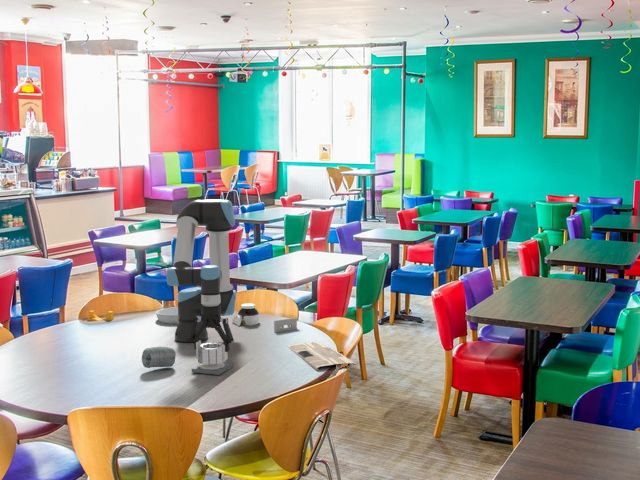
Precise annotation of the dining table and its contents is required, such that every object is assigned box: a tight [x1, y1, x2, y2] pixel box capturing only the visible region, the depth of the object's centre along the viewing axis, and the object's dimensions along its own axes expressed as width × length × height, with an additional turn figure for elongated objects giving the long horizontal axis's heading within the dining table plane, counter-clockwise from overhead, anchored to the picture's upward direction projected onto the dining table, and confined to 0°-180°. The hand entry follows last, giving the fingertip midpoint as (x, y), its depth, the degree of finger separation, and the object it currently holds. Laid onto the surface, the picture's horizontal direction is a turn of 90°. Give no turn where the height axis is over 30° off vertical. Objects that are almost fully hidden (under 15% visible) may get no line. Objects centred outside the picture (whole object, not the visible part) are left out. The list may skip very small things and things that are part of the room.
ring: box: [197, 342, 227, 365], centre depth 305 cm, size 11×11×6 cm
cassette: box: [273, 317, 298, 333], centre depth 363 cm, size 12×2×8 cm, turn 122°
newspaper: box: [287, 341, 358, 371], centre depth 323 cm, size 37×19×3 cm, turn 21°
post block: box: [191, 362, 233, 376], centre depth 305 cm, size 12×12×8 cm
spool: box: [141, 346, 176, 369], centre depth 306 cm, size 14×10×10 cm
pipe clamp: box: [87, 310, 115, 322], centre depth 388 cm, size 12×4×6 cm, turn 80°
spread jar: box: [231, 302, 260, 327], centre depth 377 cm, size 12×11×12 cm
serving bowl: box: [155, 306, 178, 325], centre depth 387 cm, size 21×21×7 cm
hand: (211, 358), depth 305 cm, fingers closed on ring, 11 cm apart
